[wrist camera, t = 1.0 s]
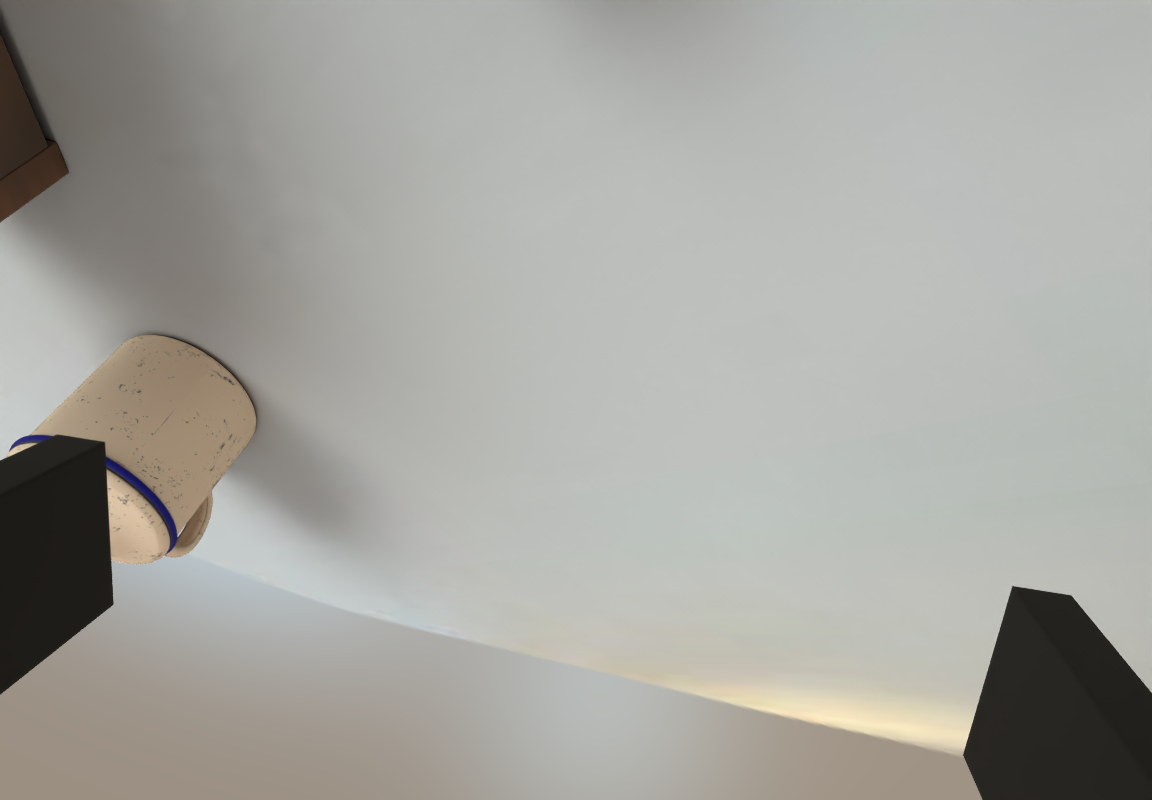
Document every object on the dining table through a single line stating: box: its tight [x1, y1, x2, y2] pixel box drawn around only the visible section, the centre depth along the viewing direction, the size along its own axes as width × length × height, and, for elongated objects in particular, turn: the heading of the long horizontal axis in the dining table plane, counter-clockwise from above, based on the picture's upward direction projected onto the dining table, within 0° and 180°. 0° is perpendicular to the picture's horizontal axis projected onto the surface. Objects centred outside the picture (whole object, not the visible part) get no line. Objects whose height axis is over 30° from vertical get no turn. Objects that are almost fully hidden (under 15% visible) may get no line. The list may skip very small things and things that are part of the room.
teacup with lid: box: [6, 335, 256, 564], centre depth 47 cm, size 12×9×12 cm
